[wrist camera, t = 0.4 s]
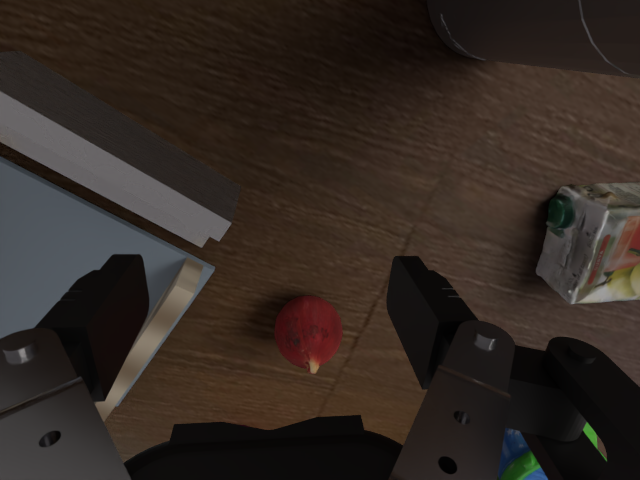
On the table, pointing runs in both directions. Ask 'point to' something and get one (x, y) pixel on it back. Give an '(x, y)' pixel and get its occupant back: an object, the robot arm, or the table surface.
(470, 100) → the table surface
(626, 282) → the juice carton
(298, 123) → the table surface
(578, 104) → the table surface
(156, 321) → the walls
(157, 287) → the board
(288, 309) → the onion
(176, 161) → the bracket
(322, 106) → the table surface
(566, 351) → the robot arm
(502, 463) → the snack cup
